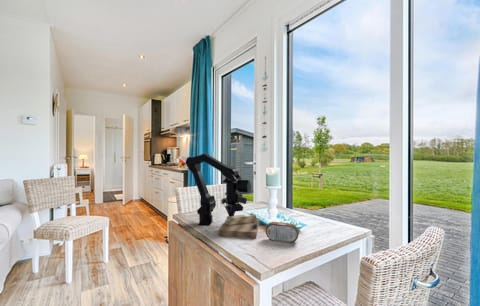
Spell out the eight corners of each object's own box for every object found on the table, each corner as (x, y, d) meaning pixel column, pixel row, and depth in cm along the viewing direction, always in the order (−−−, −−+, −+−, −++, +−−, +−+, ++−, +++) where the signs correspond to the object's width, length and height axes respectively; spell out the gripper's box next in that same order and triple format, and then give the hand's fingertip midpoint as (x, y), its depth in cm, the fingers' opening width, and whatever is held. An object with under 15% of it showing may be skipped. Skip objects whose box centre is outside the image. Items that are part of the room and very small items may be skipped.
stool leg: (228, 225, 121) (228, 217, 121) (226, 223, 124) (226, 215, 124) (256, 221, 126) (256, 214, 126) (253, 219, 130) (253, 212, 130)
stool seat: (218, 236, 114) (218, 226, 114) (228, 222, 136) (228, 213, 136) (256, 238, 111) (256, 228, 111) (259, 223, 133) (259, 215, 133)
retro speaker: (298, 241, 108) (298, 223, 108) (298, 244, 105) (298, 225, 105) (266, 238, 112) (266, 220, 112) (265, 240, 109) (265, 222, 109)
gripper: (252, 193, 120) (252, 223, 121) (239, 187, 137) (239, 213, 138) (232, 195, 116) (232, 226, 117) (220, 188, 133) (221, 215, 134)
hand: (231, 220), depth 127 cm, fingers closed
